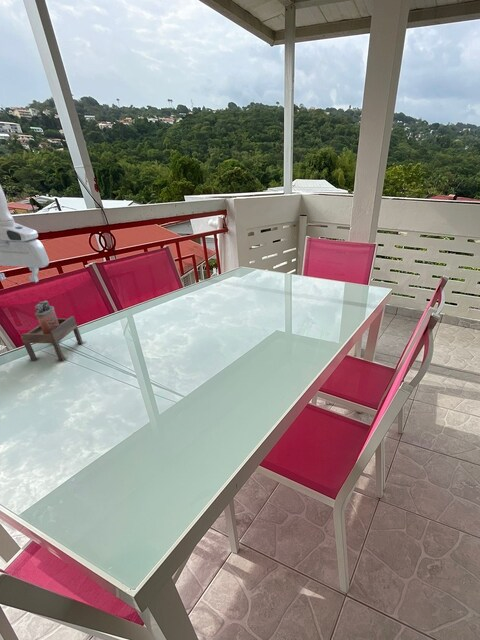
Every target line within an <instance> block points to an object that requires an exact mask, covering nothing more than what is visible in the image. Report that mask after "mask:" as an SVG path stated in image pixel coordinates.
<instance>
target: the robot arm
mask: <svg viewBox="0 0 480 640" xmlns="http://www.w3.org/2000/svg"><path fill="white" fill-rule="evenodd" d="M38 237H39V233H38V232H37V230H36V229H34V228H31V227H28V226H25V225H22V224H20V223H18V222H15V219H14V217H13V215H12V214H11V212H10V210H9V207H8V200H7V197H6V195H5V192H4V190H3V187H2V185H1V184H0V266H4V267H22V268H28V269H29V271H30V272H31V275H28V279H29V281H30V283H38V282H39V281H40V280H39V277H38V275H39V271H40V269H42V268H46V267H48V266H49V264H50V259H49V256H48V253H47V250H46V249H45V246H44V245H43V242H41V241H40V240H39V239H37V238H38ZM5 280H7V277H6V275H5V273H4V272H1V271H0V281H5Z"/></svg>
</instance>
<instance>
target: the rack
mask: <svg viewBox="0 0 480 640" xmlns="http://www.w3.org/2000/svg"><path fill="white" fill-rule="evenodd" d="M57 319H58V322H59V325H58V326H57V327H55V328H54V329H53V330H51V331H50V332H49V333H50V334H43V331H42V328H41V326H40V324H39V325H37V326H35V327H34V328H33V329H31V330H30V331H28V332H26V333H22V334H21V336H20V339H21V341H22V344H23V346H24V348H25V350H26V352H27V354H28V357H29V359H30V360H31V361H36V360H37V359H38V358H37V356H36V353H35V351H34V348H33V347H32V344H52V346H53V349H54V351H55V353H56V356H57V359H58V361H59V362H63V361H64V360H65V356H64V353H63V351H62V348H61V346H60V343H59V342H60V341H61V340H63V339H64V338H65V337H67V336H68V335H69V334H70V333H71V332H73V334H74V335H75V339H76V342H77V344H78V345H83V344H84V341H83V338H82V336H81V333H80V330H79V328H78V324H77V322H76V318H75V316H74V315H71V316H69V317H67V318H61V317H59V318H58V317H57Z"/></svg>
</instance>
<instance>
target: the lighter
mask: <svg viewBox="0 0 480 640" xmlns="http://www.w3.org/2000/svg"><path fill="white" fill-rule="evenodd" d="M34 309H35V311H36V312H35V313H34V316H35V317H36V318H37V321H38V323H39V325H40V326H41V328H42V331H43V334H50V333H49V332H50V331H51V330H53V329H54V328H55V327H57V326H58V325H59V322H58V319H57V318H58V317H57V314H56V311H55V307H54V306H53V305H50V304H49V301H48V300H43V301H38V304H36V305H35V306H34Z"/></svg>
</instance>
